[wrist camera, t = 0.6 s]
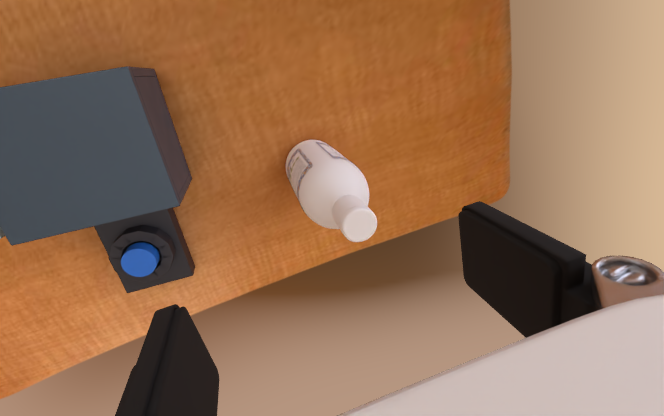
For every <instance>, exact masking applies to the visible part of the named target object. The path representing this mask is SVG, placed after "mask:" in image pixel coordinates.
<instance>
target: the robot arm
mask: <svg viewBox="0 0 664 416" xmlns="http://www.w3.org/2000/svg"><path fill="white" fill-rule="evenodd" d="M459 226H460V239H461V249H462V262H463V272H464V279H465V281H466V283H467V285H468V286H469V287H470V288H471V289H473V290H474V291H475V292H476V293H477V294H478V295H479V296H480V297H481V298H482V299H484V300H485V301H486V302H487V303H488V304H489V305H490V306H491V307H492V308H494V309H495V310H496V311H497V312H498V313H499V314H500V315H502V317H504V318H505V319H506V320H507V321H508V322H509V323H510V324H511V325H512V326H514V327H515V328H516V329H517V330H518V331H519V332H520V333H521V334H522V335H524V336H525V337H526V338H525V339H522V340H520V341H517V342H515V343H513V344H510V345H507V346H505V347H502V348H500V349H497V350H495V351H493V352H490V353H488V354H485V355H483V356H480V357H478V358H475V359H473V360H470V361H468V362H465V363H463V364H461V365H458V366H456V367H453V368H451V369H448V370H446V371H443V372H441V373H439V374H436V375H434V376H431V377H429V378H427V379H424V380H422V381H419V382H417V383H414V384H412V385H410V386H407V387H405V388H402V389H400V390H397V391H395V392H393V393H390V394H388V395H386V396H383V397H380V398H378V399H376V400H373V401H371V402H368V403H366V404H364V405H361V406H359V407H357V408H354V409H352V410H349V411H347V412H344V413H342V414H340V415H337V416H664V272H662V270H661V269H660V268H658V267H657V266H655V265H653V264H652V263H649V262H647V261H644V260H642V259H637V258H634V257H628V256H607V257H602V258H600V259H598V260H596V261H595V262H594V263H593V264H592V265H591V264H589V263H587V262H586V261H585V259H586V255H585V254H583V253H582V252H580V251H578V250H576V249H574V248H572V247H570V246H568V245H566V244H564V243H562V242H560V241H558V240H556V239H554V238H552V237H550V236H548V235H546V234H544V233H542V232H540V231H538V230H536V229H534V228H532V227H530V226H528V225H526V224H524V223H522V222H520V221H518V220H516V219H514V218H512V217H511V216H509V215H507V214H504V213H502V212H501V211H499V210H497V209H495V208H493V207H491V206H489V205H487V204H485V203H483V202H480V201H479V202H476V203H473V204H470V205H467V206H464V207H463V208H462V212H460V213H459ZM218 390H219V374H218V370H217V368H216V366H215V364H214V362H213V360H212V358H211V356H210V354H209V352H208V350H207V348H206V346H205V344H204V342H203V340H202V339H201V336H200V334H199V332H198V330H197V328H196V326H195V325H194V323H193V321H192V319H191V317H190V315H189V313H188V311H187V309H186V308H185V307H181V308H179V306H178V305H176V304H175V305H172V306H169V307H166V308H163V309H160V310H157V311H156V312H155V314H154V316H153V319H152V322H151V325H150V327H149V330H148V333H147V336H146V339H145V341H144V344H143V347H142V350H141V353H140V355H139V358H138V361H137V363H136V365H135V366H134V367H133V369H132V371H131V374H130V376H129V379H128V382H127V384H126V388H125V390H124V393H123V395H122V398H121V401H120V403H119V406H118V409H117V412H116V414H115V416H217V405H218Z"/></svg>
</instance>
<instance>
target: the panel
mask: <svg viewBox="0 0 664 416" xmlns="http://www.w3.org/2000/svg"><path fill="white" fill-rule="evenodd" d="M94 227H95V229H96V231H97V233H98V235H99V237H100V239H101V241H102V243H103V245H104V247H105V249H106V251H107V253H108V255H109V260H110V262H111V264H112V266H113V268H114V270H115V271H116V272H117V273H118V275H119V277H120V279H121V281H122V284H123V286H124V288H125V290H126V292H127V293H130V292H134V291H137V290H141V289H145V288H148V287H152V286H156V285H159V284H163V283H167V282H171V281H174V280H178V279H182V278H185V277H189V276H193V274H194V269H195V265H194V263H193V260H192V257H191V255H190V252H189V250H188V247H187V244H186V242H185V239H184V236H183V234H182V231H181V229H180V226H179V223H178V221H177V218H176V216H175V213H174V210H173V208H169V209H165V210H160V211H156V212H152V213H148V214H143V215H139V216H135V217H131V218H126V219H122V220H118V221H114V222H109V223H105V224H101V225H97V226H94ZM138 242H146V243H149V244H151V245H153V246H154V247H156V248H157V250H158V252H159V255H160V258H159V261H158V264H157V266H156V268H155V270H154V271H153V272H152V273H151V274H149V275H147V276H144V277H135V276H131V275H129V274H128V273H126V272H125V271H124V270H123V268H122V266H121V258H122V256H123V255H124V253H125V251H126V250H127V248H128V247H129V246H131V245H132V244H134V243H138Z"/></svg>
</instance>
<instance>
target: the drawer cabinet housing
mask: <svg viewBox="0 0 664 416" xmlns="http://www.w3.org/2000/svg"><path fill="white" fill-rule="evenodd" d="M191 180H192V177H191V174H190V172H189V169H188V166H187V163H186V160H185V157H184V154H183V151H182V148H181V146H180V143H179V140H178V137H177V134H176V131H175V128H174V125H173V122H172V119H171V117H170V114H169V111H168V108H167V105H166V102H165V99H164V96H163V93H162V90H161V88H160V85H159V82H158V79H157V76H156V73H155V70H154V69H149V68H138V67H121V68H115V69H109V70H103V71H97V72H91V73H85V74H79V75H73V76H67V77H61V78H55V79H49V80H43V81H37V82H30V83H24V84H18V85H12V86H6V87H0V228H1V229H2V231H3V233H4V234H5V236H6V238H7V239H8V241H9V242H10V244H11V245H16V244H20V243H25V242H29V241H33V240H37V239H42V238H46V237H50V236H54V235H59V234H63V233H67V232H71V231H76V230H80V229H84V228H88V227H93V226H97V225H101V224H105V223H109V222H114V221H118V220H122V219H126V218H131V217H135V216H139V215H143V214H148V213H152V212H156V211H160V210H165V209H169V208H173V207H177V206H180V204H181V202H182V200H183V197H184V195H185V193H186V191H187V189H188V187H189V184H190V182H191Z"/></svg>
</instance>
